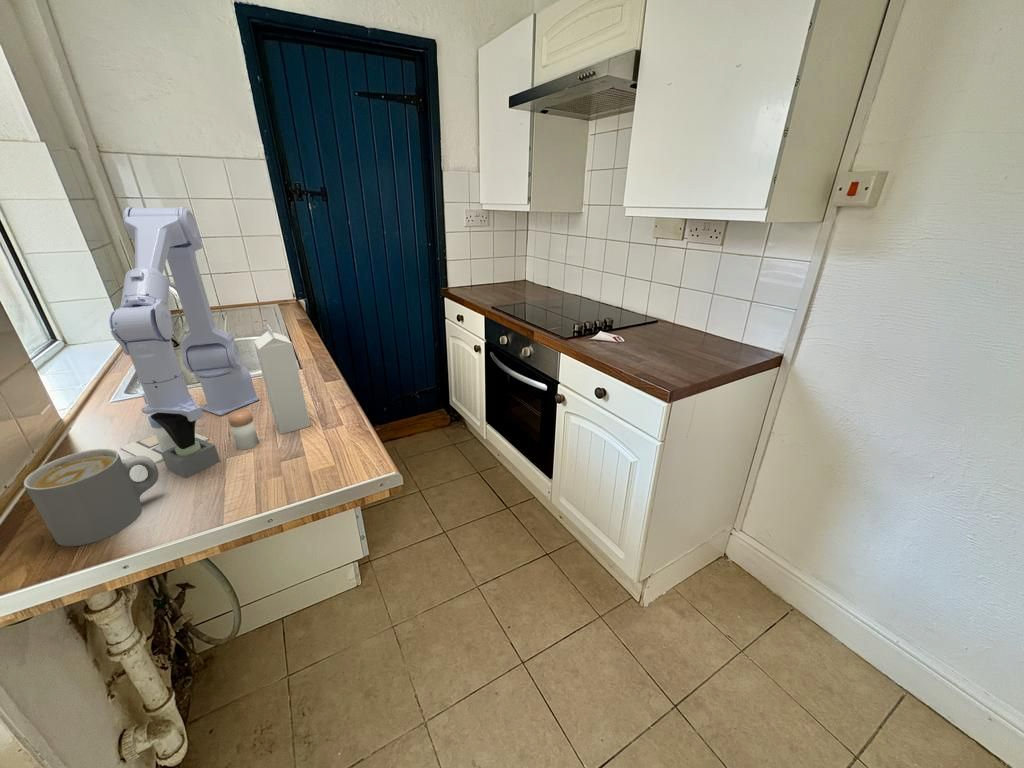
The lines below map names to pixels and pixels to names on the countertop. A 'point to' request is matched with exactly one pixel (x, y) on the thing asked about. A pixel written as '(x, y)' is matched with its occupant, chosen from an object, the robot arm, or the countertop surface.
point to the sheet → (149, 447)
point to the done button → (187, 450)
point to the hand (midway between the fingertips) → (187, 446)
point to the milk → (282, 381)
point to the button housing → (191, 459)
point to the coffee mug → (89, 494)
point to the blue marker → (162, 435)
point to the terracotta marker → (243, 429)
